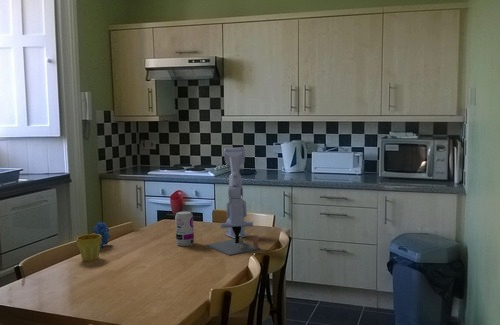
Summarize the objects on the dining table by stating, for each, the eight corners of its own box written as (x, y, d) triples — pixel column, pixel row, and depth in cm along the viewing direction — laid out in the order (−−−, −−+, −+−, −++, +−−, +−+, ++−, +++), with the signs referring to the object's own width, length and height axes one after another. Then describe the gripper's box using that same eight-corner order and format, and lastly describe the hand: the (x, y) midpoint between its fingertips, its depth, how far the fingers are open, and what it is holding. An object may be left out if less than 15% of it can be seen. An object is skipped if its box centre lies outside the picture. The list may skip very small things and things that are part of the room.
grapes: (102, 250, 237) (100, 224, 236) (89, 249, 239) (88, 224, 238) (117, 244, 248) (115, 219, 247) (105, 243, 250) (103, 218, 249)
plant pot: (95, 262, 218) (94, 240, 217) (73, 262, 220) (71, 239, 219) (107, 255, 228) (105, 234, 227) (85, 255, 230) (84, 233, 229)
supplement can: (195, 241, 247) (194, 210, 246) (192, 246, 239) (190, 214, 238) (178, 242, 248) (177, 211, 246) (174, 246, 240) (173, 214, 238)
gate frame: (205, 245, 239) (205, 230, 239) (235, 240, 248) (234, 225, 247) (229, 255, 222) (228, 239, 221) (260, 249, 231) (259, 233, 230)
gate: (236, 242, 239) (236, 233, 238) (239, 242, 239) (239, 233, 239) (240, 249, 228) (240, 239, 228) (243, 248, 228) (243, 239, 228)
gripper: (220, 215, 227) (221, 246, 229) (253, 214, 229) (254, 244, 231) (219, 212, 234) (220, 242, 236) (251, 211, 236) (252, 240, 237)
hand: (237, 242), depth 234 cm, fingers closed, pressing on gate
